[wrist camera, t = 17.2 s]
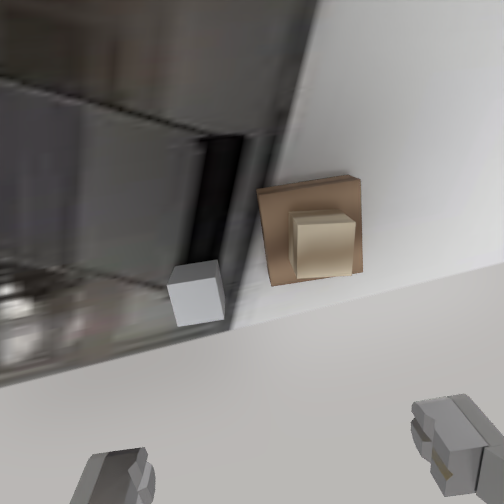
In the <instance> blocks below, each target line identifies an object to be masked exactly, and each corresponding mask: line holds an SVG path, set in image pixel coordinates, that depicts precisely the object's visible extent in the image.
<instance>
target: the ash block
mask: <svg viewBox="0 0 504 504" xmlns="http://www.w3.org/2000/svg"><path fill="white" fill-rule="evenodd" d="M355 227H356V222H355V221H353V220H352V219H351V218H349V217H348V216H347V215H345V214H344V213H343V212H341V211H340V210H339V209H332V210H311V211H292V212H289V261H290V263H291V265H292V268H293V270H294V272H295V275H296V277H297V279H300V278H318V277H335V276H352V266H353V253H354V240H355Z"/></svg>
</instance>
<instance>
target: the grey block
mask: <svg viewBox="0 0 504 504" xmlns="http://www.w3.org/2000/svg"><path fill="white" fill-rule="evenodd" d="M167 288H168V292H169V296H170V299H171V303H172V307H173V310H174V314H175V318H176V321H177V325H178V327H179V326H186V325H192V324H198V323H204V322H211V321H217V320H223V319H224V312H225V294H224V289H223V284H222V279H221V274H220V269H219V264H218V260H212V261H205V262H199V263H193V264H187V265H180V266H175V267H174V270H173V272H172V274H171V276H170V279H169V281H168V283H167Z"/></svg>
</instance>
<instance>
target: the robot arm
mask: <svg viewBox="0 0 504 504" xmlns="http://www.w3.org/2000/svg"><path fill="white" fill-rule="evenodd" d="M412 413H413V414H414V416H415V418H414V419H413V420H412V422H411V433H412V436H413V440H414V443H415V445H416V447H417V449H418V451H419V453H420V455H421V456H422V457H423V458H424V459H426V460H427V461H429V462H430V463H431V471H430V472H431V474H432V476H433V478H434V479H435V481H436V483H437V485H438V486H439V488H440V490H441V491H442V493H443V495H444V497H448V496H456V495H463V494H470V493H476V495H477V496H478V497H480V498H481V499H482V500H483V501H484V502H486V503H487V504H504V436H503V435H502V434H501V433H500V431H499V430H498V429H497V428H496V427H495V426H494V425H493V423H491V421H490V420H489V419H488V418H487V417H486V416H485V414H484V413H483V412H482V411H481V410H480V409H479V407H478V406H477V405H476V404H475V403H474V402H473V401H472V400H471V398H470V397H469V396H467V395H466V394H459V395H453V396H447V397H439V398H433V399H428V400H422V401H416V402H414V403H413V404H412ZM147 456H148V454H147V451H146V449H145V447H142V448H135V449H127V450H120V451H113V452H106V453H99V454H93V455H92V456H91V457H90V459H89V460H88V461H87V464H86V466H85V468H84V471H83V473H82V476H81V478H80V480H79V483H78V485H77V487H76V490H75V492H74V495H73V497H72V499H71V501H70V504H151V503H152V502H153V498H154V493H155V472H154V468H153V466H152V464H150V463H149V462H147V461H146V460H147Z"/></svg>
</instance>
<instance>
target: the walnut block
mask: <svg viewBox="0 0 504 504" xmlns="http://www.w3.org/2000/svg"><path fill="white" fill-rule="evenodd" d="M256 190H257V197H258V205H259V212H260V219H261V226H262V233H263V240H264V247H265V254H266V261H267V268H268V274H269V278H270V282H271V286H278V285H285V284H291V283H297V282H304V281H310V280H317V279H323V278H329V277H318V278H300V279H297V277H296V275H295V272H294V270H293V268H292V265H291V263H290V261H289V212H292V211H311V210H332V209H339V210H340V211H341V212H343V213H344V214H345V215H347V216H348V217H349V218H351V219H352V220H353V221H355V222H356V227H355V240H354V253H353V266H352V274H355V273H361V272H363V255H362V217H361V179H358V178H355V177H353V176H350V175H343V176H336V177H330V178H324V179H317V180H311V181H304V182H298V183H292V184H285V185H279V186H273V187H266V188H260V189H256ZM335 277H336V276H335Z"/></svg>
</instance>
